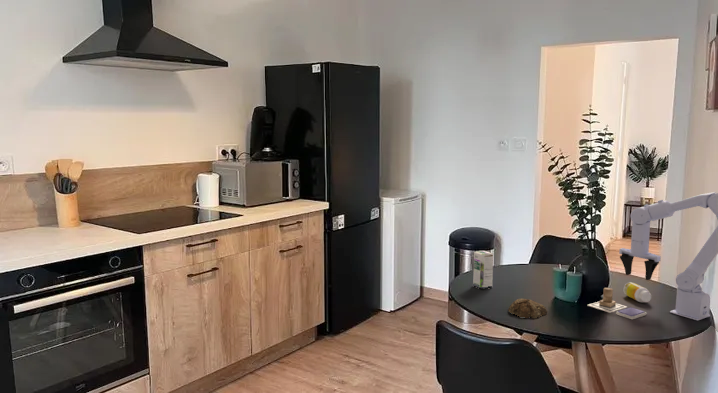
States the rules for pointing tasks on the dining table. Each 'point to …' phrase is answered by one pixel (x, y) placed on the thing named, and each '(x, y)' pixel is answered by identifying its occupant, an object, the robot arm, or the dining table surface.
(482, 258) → the syrup box
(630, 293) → the supplement bottle
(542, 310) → the brown speckled mound
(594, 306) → the print sheet
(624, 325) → the dining table surface
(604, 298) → the stamp
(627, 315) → the ink pad
